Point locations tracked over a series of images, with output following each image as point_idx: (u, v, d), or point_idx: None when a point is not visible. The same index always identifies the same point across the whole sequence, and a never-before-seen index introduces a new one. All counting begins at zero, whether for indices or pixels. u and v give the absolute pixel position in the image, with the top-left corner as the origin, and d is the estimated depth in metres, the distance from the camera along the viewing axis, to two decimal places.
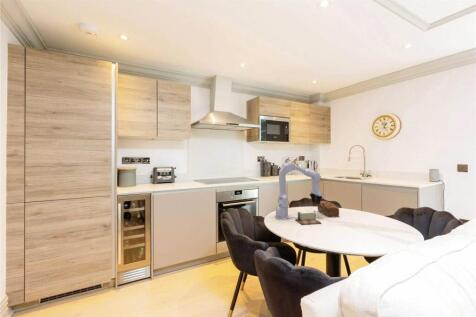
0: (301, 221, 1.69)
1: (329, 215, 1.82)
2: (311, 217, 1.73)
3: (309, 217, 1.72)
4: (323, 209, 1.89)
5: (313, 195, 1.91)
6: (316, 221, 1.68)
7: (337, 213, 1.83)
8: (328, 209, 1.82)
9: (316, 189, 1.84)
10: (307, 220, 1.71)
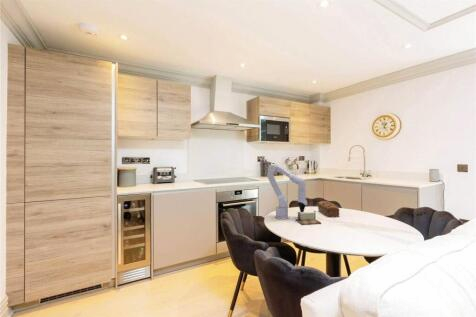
0: (301, 221, 1.69)
1: (329, 215, 1.82)
2: (311, 217, 1.73)
3: (309, 217, 1.72)
4: (323, 209, 1.89)
5: None
6: (316, 221, 1.68)
7: (337, 213, 1.83)
8: (328, 209, 1.82)
9: (302, 197, 1.76)
10: (307, 220, 1.71)
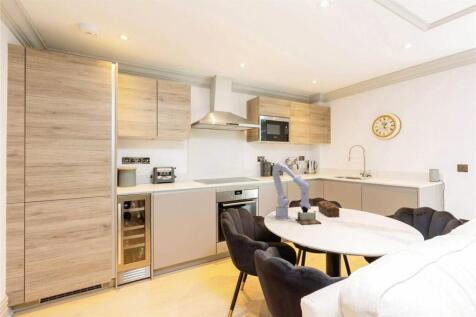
0: (301, 221, 1.69)
1: (329, 215, 1.82)
2: (311, 217, 1.73)
3: (309, 217, 1.72)
4: (323, 209, 1.89)
5: None
6: (316, 221, 1.68)
7: (337, 213, 1.83)
8: (328, 209, 1.82)
9: (305, 201, 1.71)
10: (307, 220, 1.71)
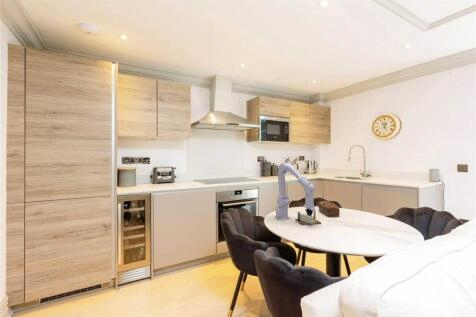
0: (301, 221, 1.69)
1: (329, 215, 1.82)
2: (309, 221, 1.63)
3: (307, 220, 1.65)
4: (323, 209, 1.89)
5: (309, 211, 1.66)
6: (316, 221, 1.68)
7: (337, 213, 1.83)
8: (328, 209, 1.82)
9: (310, 203, 1.64)
10: None
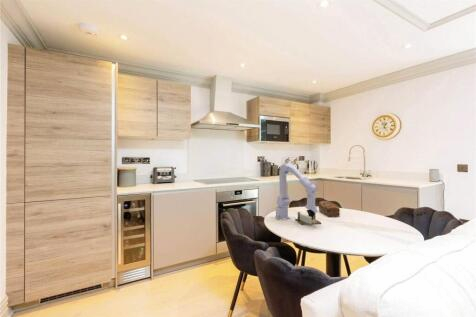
0: (301, 221, 1.69)
1: (329, 215, 1.82)
2: (307, 221, 1.63)
3: (306, 220, 1.64)
4: (324, 209, 1.89)
5: None
6: (316, 221, 1.68)
7: (337, 213, 1.83)
8: (328, 209, 1.82)
9: (311, 204, 1.61)
10: None
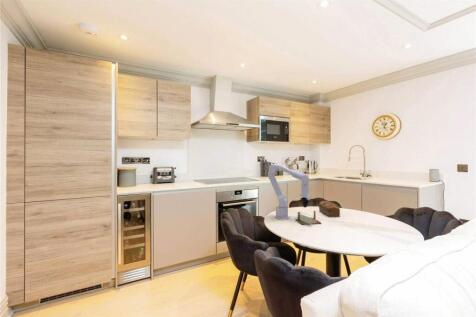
0: (301, 221, 1.69)
1: (329, 215, 1.82)
2: (307, 221, 1.63)
3: (306, 220, 1.64)
4: (324, 209, 1.89)
5: None
6: (316, 221, 1.68)
7: (337, 213, 1.83)
8: (328, 209, 1.82)
9: (305, 192, 1.75)
10: None
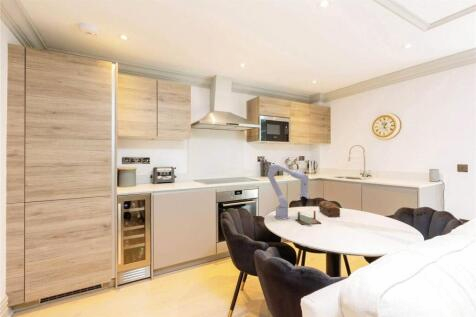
0: (301, 221, 1.69)
1: (330, 215, 1.82)
2: (307, 221, 1.63)
3: (306, 220, 1.64)
4: (324, 209, 1.89)
5: None
6: (316, 221, 1.68)
7: (337, 213, 1.83)
8: (329, 209, 1.82)
9: (304, 191, 1.79)
10: None
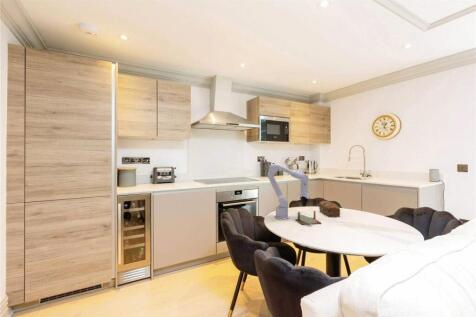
0: (301, 221, 1.69)
1: (330, 215, 1.82)
2: (307, 221, 1.63)
3: (306, 220, 1.64)
4: (324, 209, 1.89)
5: None
6: (316, 221, 1.68)
7: (338, 213, 1.83)
8: (329, 209, 1.82)
9: (304, 191, 1.79)
10: None
